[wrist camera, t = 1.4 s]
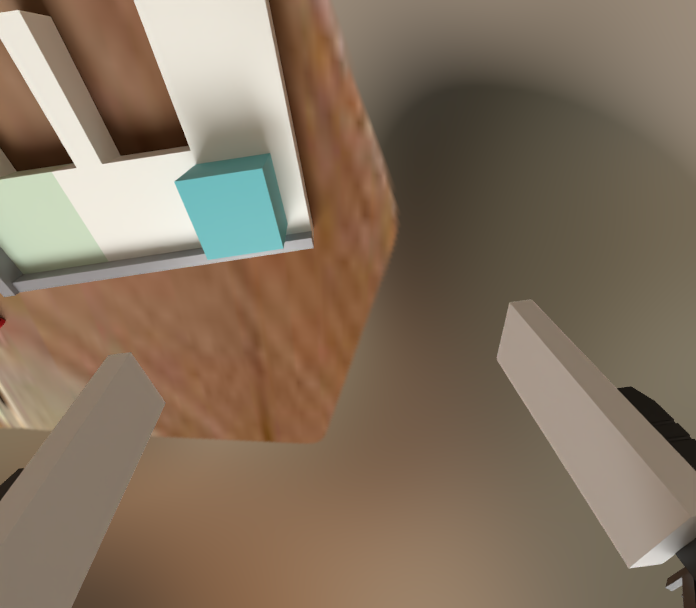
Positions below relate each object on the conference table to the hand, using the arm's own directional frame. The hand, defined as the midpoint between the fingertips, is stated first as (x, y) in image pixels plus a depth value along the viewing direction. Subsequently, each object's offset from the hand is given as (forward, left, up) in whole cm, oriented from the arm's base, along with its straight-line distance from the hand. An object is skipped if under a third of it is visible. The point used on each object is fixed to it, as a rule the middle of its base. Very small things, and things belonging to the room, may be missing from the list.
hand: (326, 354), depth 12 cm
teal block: (0, -6, -20) cm, 21 cm away
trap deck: (-4, -15, -23) cm, 28 cm away
